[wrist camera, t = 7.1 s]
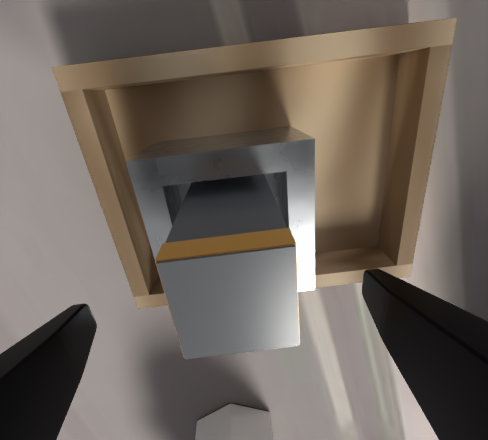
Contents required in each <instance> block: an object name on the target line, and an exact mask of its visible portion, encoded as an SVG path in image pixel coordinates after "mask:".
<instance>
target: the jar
mask: <svg viewBox="0 0 488 440" xmlns="http://www.w3.org/2000/svg"><path fill="white" fill-rule="evenodd" d="M195 440H274V439H273V431H272V424H271V416H270V413H269V412H268V411H264V410H259V409H254V408H250V407H245V406H240V405H236V404H228V405H226V406H224V407H223V408H221V409H219V410H217V411H215V412H213V413H211V414H209V415H207V416H205V417H204V418H202V419H200V420H198V421H197V426H196V436H195Z"/></svg>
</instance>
